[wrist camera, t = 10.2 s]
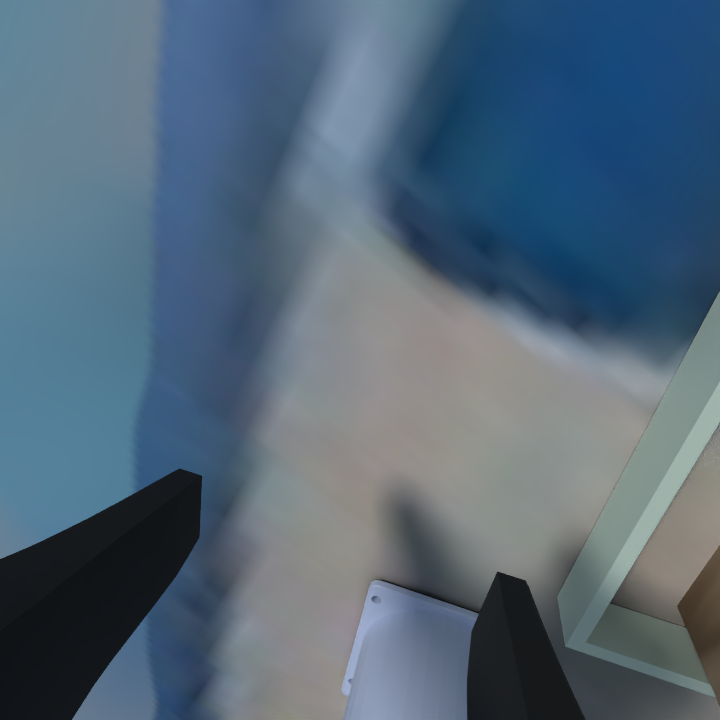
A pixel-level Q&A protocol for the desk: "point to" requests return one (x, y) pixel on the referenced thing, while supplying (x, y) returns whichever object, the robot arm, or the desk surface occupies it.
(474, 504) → the desk surface
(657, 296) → the desk surface
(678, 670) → the bin
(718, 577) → the plain block
